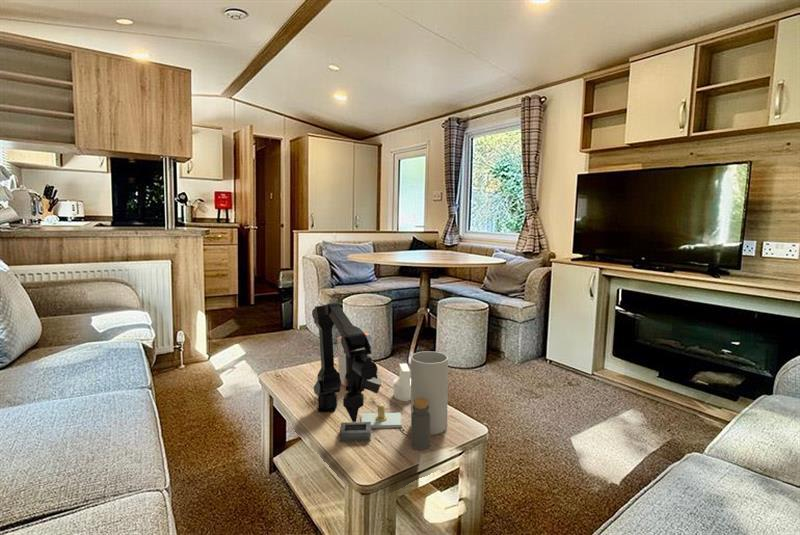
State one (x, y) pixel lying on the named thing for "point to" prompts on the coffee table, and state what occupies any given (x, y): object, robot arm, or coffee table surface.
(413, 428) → the bottle
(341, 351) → the cracker box
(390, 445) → the coffee table surface
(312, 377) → the coffee table surface
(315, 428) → the coffee table surface
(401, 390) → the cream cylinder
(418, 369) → the cylinder vase
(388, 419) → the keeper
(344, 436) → the link
